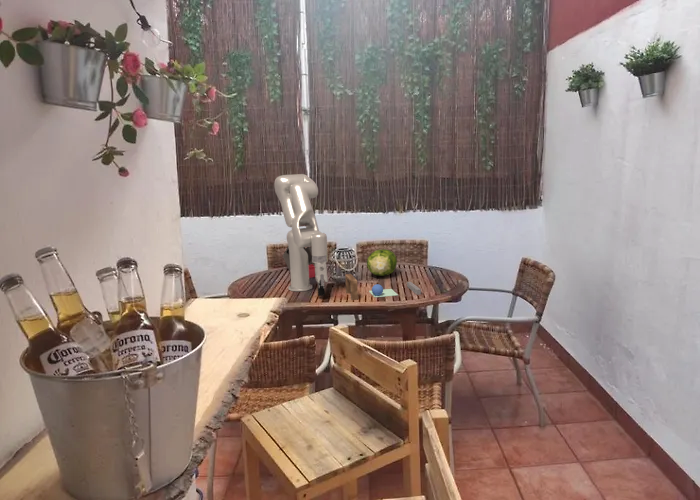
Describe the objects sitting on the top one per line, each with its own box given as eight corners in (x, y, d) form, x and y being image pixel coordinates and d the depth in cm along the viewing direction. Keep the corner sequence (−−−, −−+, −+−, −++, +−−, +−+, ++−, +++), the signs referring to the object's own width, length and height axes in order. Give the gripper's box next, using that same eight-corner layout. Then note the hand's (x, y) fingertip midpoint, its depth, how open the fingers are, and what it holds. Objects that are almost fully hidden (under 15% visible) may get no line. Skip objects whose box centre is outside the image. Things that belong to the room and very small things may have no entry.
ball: (384, 292, 262) (373, 296, 262) (379, 281, 262) (369, 286, 261) (385, 293, 256) (374, 298, 256) (381, 283, 256) (370, 287, 256)
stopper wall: (407, 286, 274) (407, 282, 273) (410, 286, 274) (410, 281, 274) (416, 294, 258) (416, 289, 258) (420, 294, 259) (420, 289, 258)
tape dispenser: (316, 279, 298) (316, 270, 297) (300, 278, 301) (299, 269, 300) (326, 273, 311) (325, 265, 310) (310, 272, 314) (310, 264, 313)
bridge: (351, 300, 253) (351, 281, 251) (345, 292, 267) (345, 274, 265) (357, 299, 254) (357, 280, 252) (351, 291, 268) (351, 273, 266)
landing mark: (368, 291, 268) (368, 290, 268) (391, 289, 270) (391, 288, 270) (374, 297, 256) (374, 296, 256) (398, 295, 259) (398, 294, 259)
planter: (278, 263, 319) (294, 235, 313) (281, 260, 326) (298, 232, 321) (301, 278, 318) (318, 250, 313) (304, 275, 325) (321, 248, 320)
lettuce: (364, 281, 288) (364, 254, 285) (370, 272, 308) (369, 246, 305) (394, 281, 285) (394, 254, 282) (397, 272, 305) (397, 246, 302)
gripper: (330, 261, 247) (331, 299, 251) (325, 255, 262) (326, 291, 265) (314, 262, 246) (315, 300, 249) (310, 256, 260) (311, 292, 264)
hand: (321, 295), depth 257 cm, fingers closed
